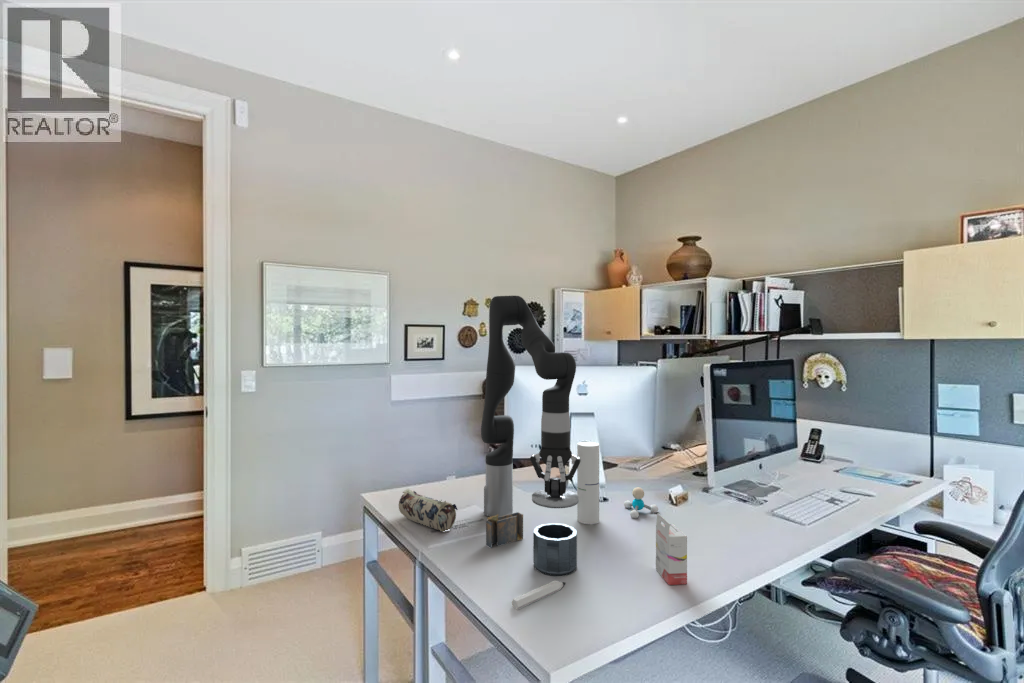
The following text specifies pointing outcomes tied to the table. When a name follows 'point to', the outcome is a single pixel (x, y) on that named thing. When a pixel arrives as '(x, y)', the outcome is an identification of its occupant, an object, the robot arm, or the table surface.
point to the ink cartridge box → (671, 552)
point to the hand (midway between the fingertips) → (555, 494)
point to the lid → (555, 496)
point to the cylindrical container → (588, 482)
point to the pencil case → (427, 510)
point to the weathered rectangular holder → (504, 529)
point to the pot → (555, 549)
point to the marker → (537, 594)
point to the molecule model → (638, 503)
